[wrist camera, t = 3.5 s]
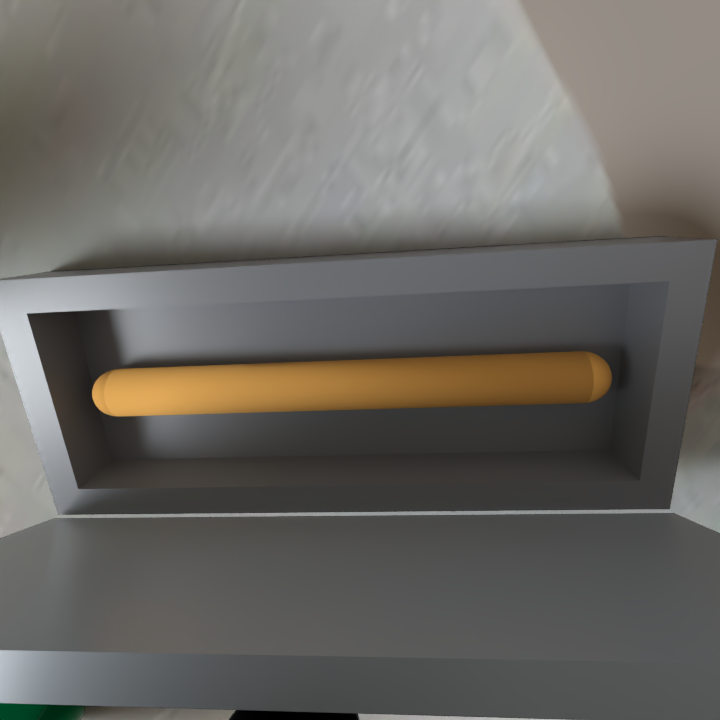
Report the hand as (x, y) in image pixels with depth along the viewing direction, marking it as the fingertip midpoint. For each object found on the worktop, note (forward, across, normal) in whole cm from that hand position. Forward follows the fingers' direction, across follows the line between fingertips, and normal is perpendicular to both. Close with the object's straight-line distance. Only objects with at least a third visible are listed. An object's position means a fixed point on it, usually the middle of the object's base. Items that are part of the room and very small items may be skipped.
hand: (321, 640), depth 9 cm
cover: (+2, 0, -1) cm, 2 cm away
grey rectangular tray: (+8, 0, -3) cm, 8 cm away
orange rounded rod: (+6, 0, -3) cm, 7 cm away
